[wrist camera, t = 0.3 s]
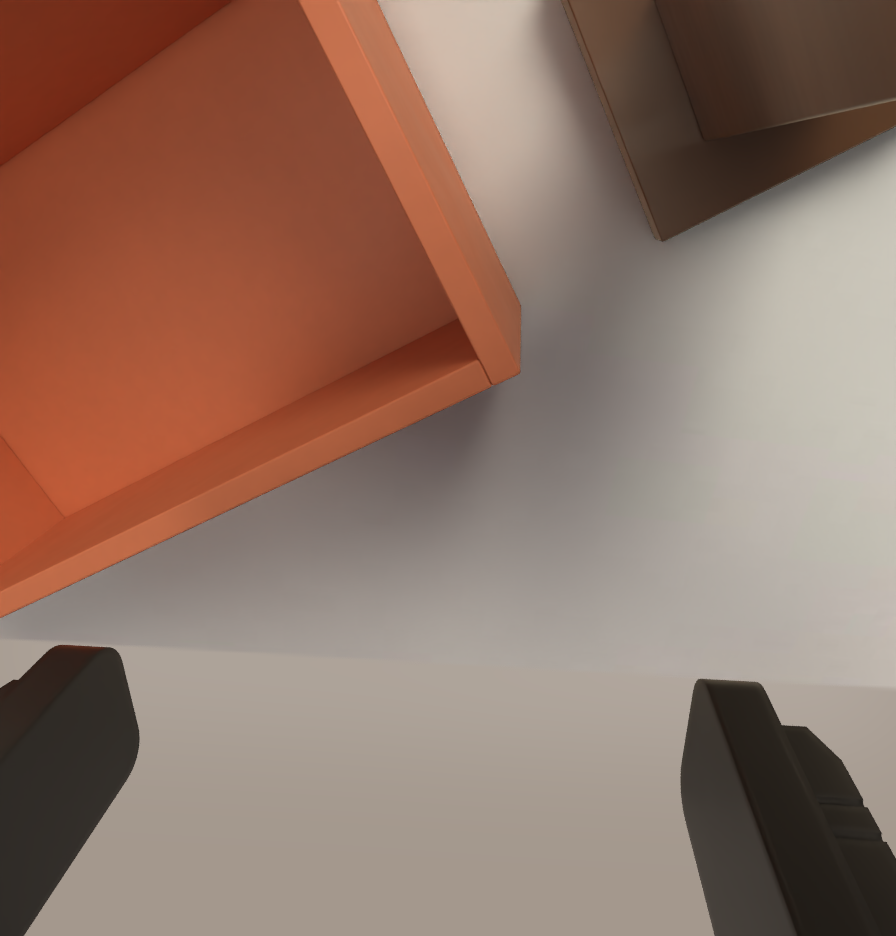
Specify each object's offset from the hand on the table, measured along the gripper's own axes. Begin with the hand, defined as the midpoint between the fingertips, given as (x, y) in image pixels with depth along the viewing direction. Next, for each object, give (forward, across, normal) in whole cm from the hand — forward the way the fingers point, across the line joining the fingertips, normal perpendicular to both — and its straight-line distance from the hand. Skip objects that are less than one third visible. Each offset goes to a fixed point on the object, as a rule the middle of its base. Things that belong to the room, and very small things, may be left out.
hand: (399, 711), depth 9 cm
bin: (+16, -10, +4) cm, 19 cm away
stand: (+16, +8, +10) cm, 20 cm away
